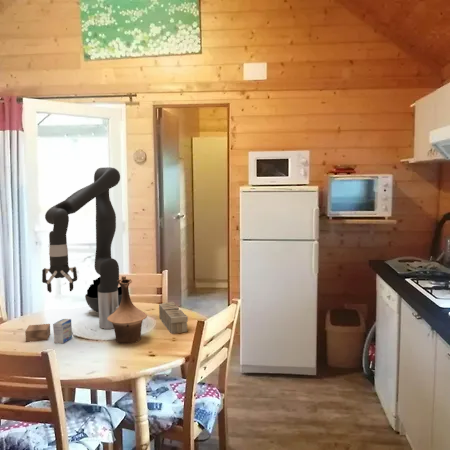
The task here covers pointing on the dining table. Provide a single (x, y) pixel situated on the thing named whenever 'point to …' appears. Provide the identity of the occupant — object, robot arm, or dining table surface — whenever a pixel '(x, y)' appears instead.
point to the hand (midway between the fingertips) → (60, 291)
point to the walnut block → (37, 332)
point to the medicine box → (62, 331)
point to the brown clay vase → (127, 317)
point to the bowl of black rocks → (93, 295)
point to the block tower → (173, 317)
